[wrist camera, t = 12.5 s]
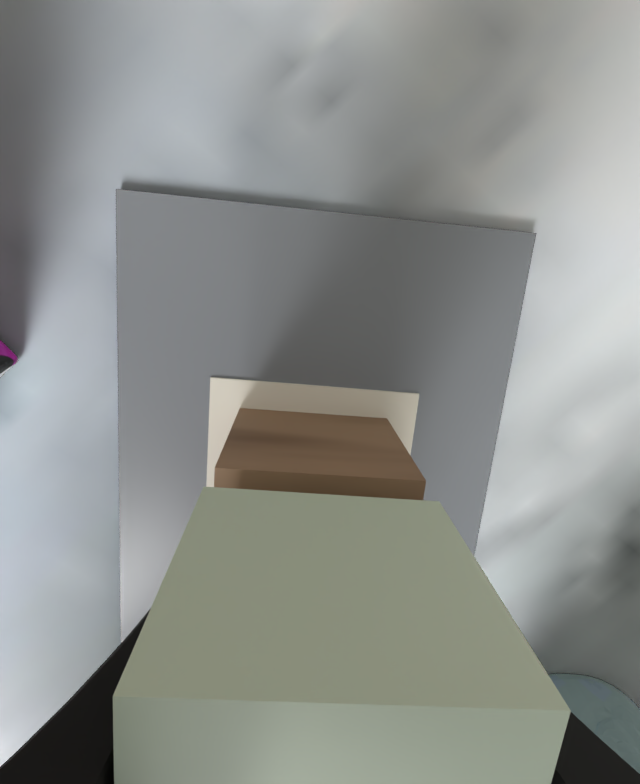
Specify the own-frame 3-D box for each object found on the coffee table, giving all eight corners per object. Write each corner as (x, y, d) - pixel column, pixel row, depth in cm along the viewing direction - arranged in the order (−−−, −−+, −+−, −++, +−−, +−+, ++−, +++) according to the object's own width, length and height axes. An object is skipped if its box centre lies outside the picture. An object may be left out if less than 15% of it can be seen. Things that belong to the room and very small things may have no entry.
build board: (445, 688, 20) (448, 697, 19) (123, 677, 19) (120, 686, 18) (531, 233, 15) (537, 232, 15) (119, 190, 14) (114, 188, 14)
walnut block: (370, 548, 17) (399, 655, 12) (233, 541, 17) (208, 648, 12) (387, 418, 16) (426, 480, 11) (239, 407, 16) (214, 467, 11)
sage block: (407, 691, 11) (490, 1004, 6) (196, 683, 11) (117, 1009, 6) (439, 501, 10) (571, 710, 5) (203, 486, 10) (112, 695, 5)
